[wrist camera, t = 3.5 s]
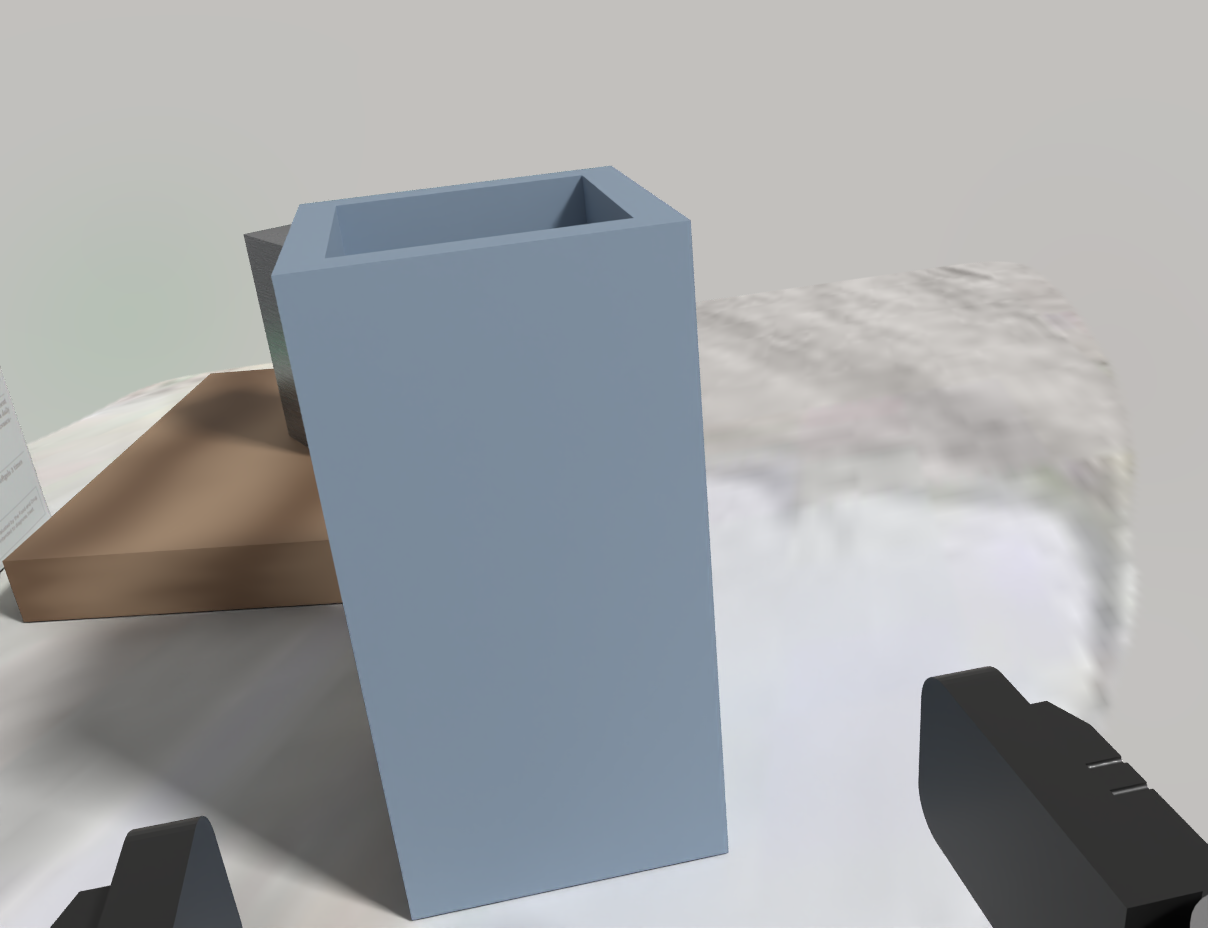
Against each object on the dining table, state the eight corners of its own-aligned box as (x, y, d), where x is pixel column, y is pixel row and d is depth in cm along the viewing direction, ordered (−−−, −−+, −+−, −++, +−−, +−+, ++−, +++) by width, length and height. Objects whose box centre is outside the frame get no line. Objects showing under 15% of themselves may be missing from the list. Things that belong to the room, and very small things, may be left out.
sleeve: (728, 852, 21) (690, 219, 16) (412, 920, 20) (270, 275, 15) (655, 676, 26) (611, 166, 21) (404, 724, 25) (299, 204, 21)
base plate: (23, 622, 31) (2, 561, 31) (221, 418, 46) (210, 373, 45) (574, 588, 30) (566, 524, 30) (598, 390, 45) (593, 343, 44)
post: (264, 464, 36) (214, 251, 33) (307, 410, 40) (266, 219, 37) (402, 455, 35) (362, 239, 32) (429, 401, 40) (397, 207, 37)
